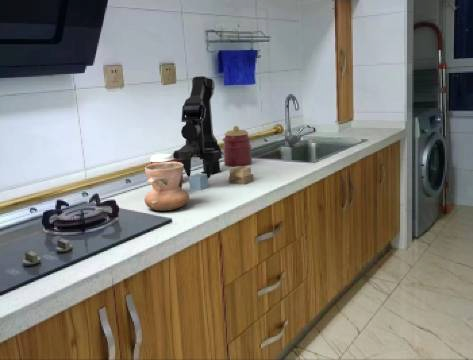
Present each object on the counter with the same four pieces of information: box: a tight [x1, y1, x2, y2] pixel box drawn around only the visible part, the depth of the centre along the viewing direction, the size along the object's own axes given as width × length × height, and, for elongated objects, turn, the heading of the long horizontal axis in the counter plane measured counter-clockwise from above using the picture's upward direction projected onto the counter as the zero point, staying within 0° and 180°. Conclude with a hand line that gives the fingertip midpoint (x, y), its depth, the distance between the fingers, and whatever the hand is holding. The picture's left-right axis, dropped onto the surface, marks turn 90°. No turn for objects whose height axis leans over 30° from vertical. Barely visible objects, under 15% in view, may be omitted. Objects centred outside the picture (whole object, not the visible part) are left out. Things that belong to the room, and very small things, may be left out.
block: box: [188, 173, 209, 191], centre depth 186 cm, size 5×5×5 cm
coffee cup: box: [149, 153, 174, 164], centre depth 174 cm, size 8×8×15 cm
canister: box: [222, 125, 253, 167], centre depth 227 cm, size 13×13×18 cm
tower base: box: [228, 173, 255, 186], centre depth 192 cm, size 7×7×3 cm
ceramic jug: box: [144, 162, 190, 212], centre depth 161 cm, size 18×14×14 cm
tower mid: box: [228, 166, 252, 178], centre depth 191 cm, size 6×6×3 cm
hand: (198, 177), depth 185 cm, fingers open, 9 cm apart
